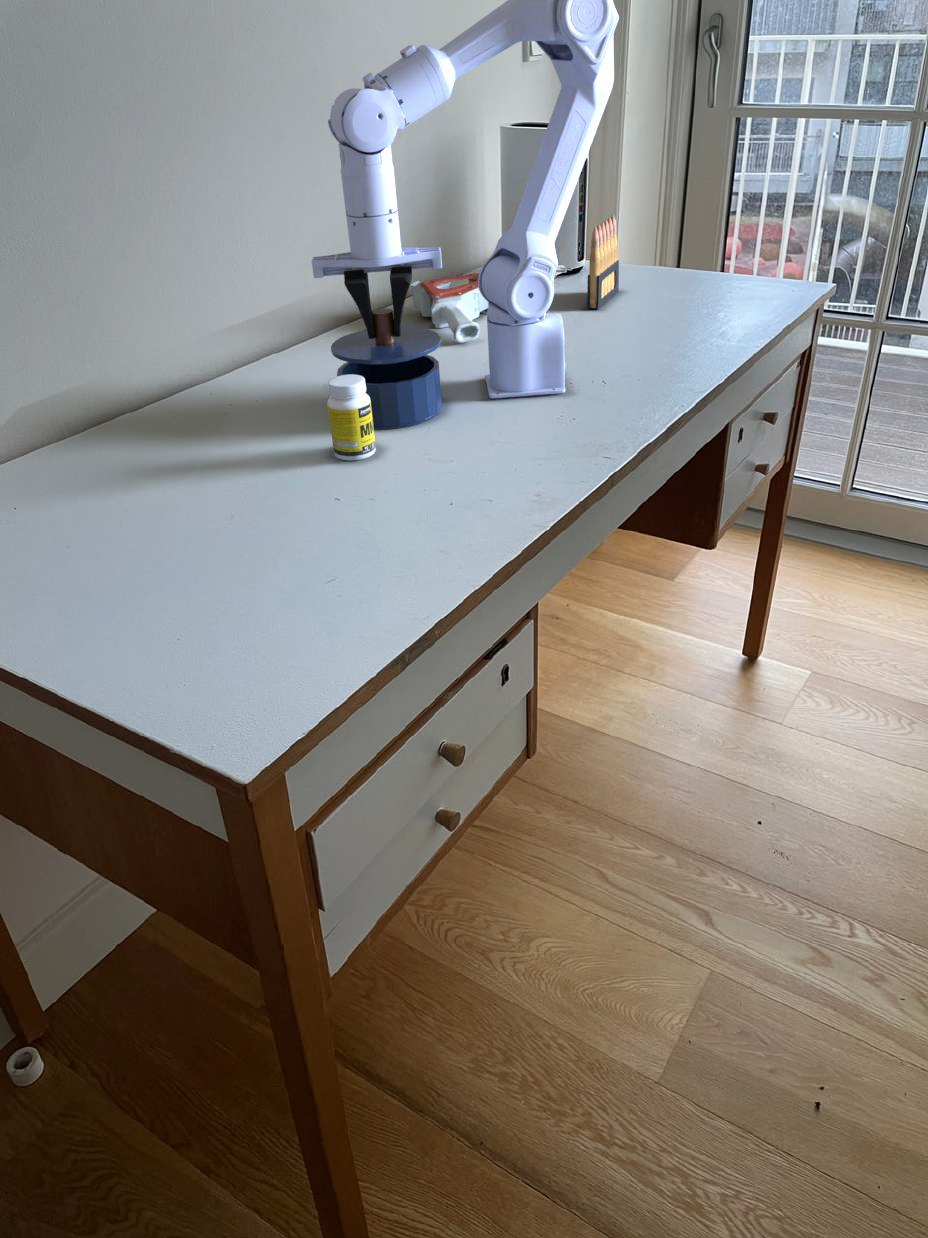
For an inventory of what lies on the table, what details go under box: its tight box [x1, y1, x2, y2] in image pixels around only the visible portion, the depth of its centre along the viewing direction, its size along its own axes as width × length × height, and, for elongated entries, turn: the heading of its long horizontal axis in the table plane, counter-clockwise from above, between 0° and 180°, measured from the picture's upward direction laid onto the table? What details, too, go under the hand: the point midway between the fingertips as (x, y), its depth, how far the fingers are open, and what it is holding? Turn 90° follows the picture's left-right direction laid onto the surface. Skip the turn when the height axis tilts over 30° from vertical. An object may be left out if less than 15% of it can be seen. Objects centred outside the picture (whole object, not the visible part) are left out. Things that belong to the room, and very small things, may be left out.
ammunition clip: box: [586, 214, 620, 311], centre depth 152 cm, size 11×2×12 cm, turn 155°
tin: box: [336, 354, 443, 430], centre depth 119 cm, size 12×12×5 cm
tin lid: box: [330, 308, 442, 365], centre depth 115 cm, size 13×13×5 cm
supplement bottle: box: [326, 375, 377, 461], centre depth 107 cm, size 5×5×8 cm
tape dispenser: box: [410, 272, 489, 344], centre depth 149 cm, size 18×5×20 cm
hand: (385, 335), depth 115 cm, fingers closed on tin lid, 2 cm apart
